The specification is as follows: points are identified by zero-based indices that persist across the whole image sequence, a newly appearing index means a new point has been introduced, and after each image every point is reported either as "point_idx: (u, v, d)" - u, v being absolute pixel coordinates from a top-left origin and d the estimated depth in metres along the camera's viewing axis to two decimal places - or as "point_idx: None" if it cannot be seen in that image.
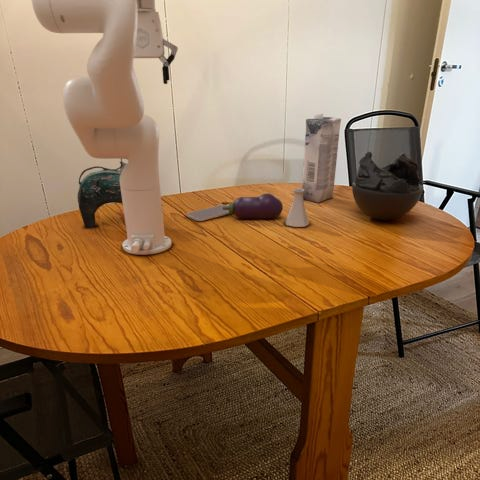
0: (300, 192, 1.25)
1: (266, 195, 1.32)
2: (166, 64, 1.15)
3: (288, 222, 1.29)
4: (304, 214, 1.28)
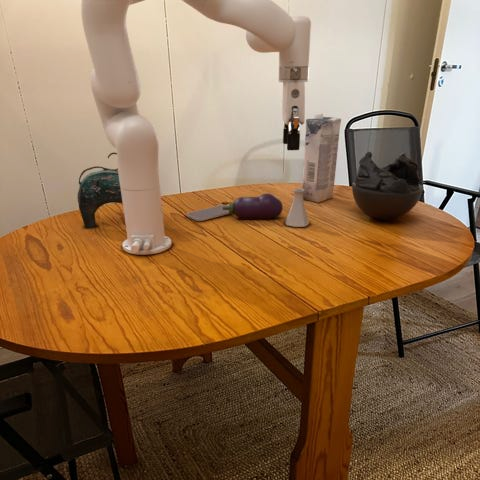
0: (300, 192, 1.25)
1: (266, 195, 1.32)
2: None
3: (288, 222, 1.29)
4: (304, 214, 1.28)
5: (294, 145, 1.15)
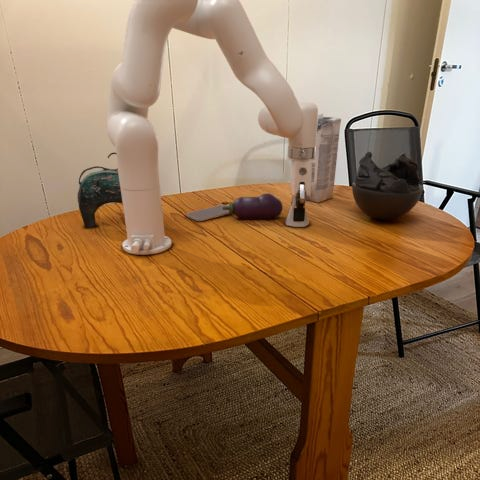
0: None
1: (266, 195, 1.32)
2: None
3: (288, 222, 1.29)
4: None
5: (299, 217, 1.27)
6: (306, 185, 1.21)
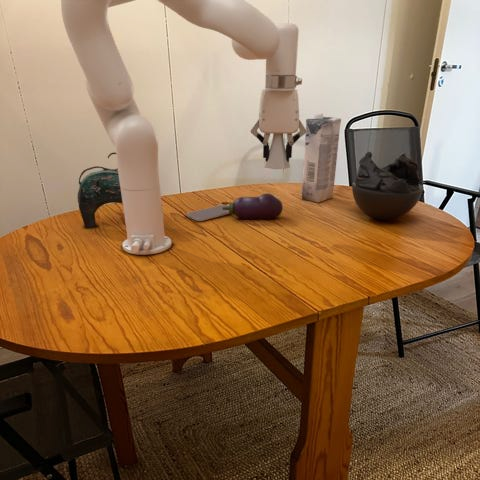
0: None
1: (266, 195, 1.32)
2: None
3: (285, 165, 1.16)
4: None
5: None
6: None
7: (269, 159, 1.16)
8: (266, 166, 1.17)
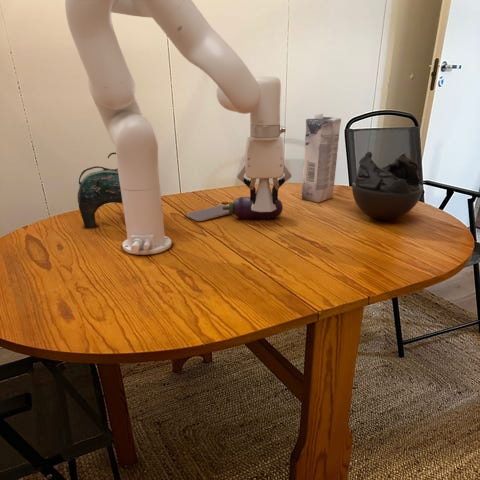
0: None
1: None
2: None
3: (271, 208, 1.20)
4: None
5: None
6: None
7: (256, 202, 1.20)
8: (253, 209, 1.21)
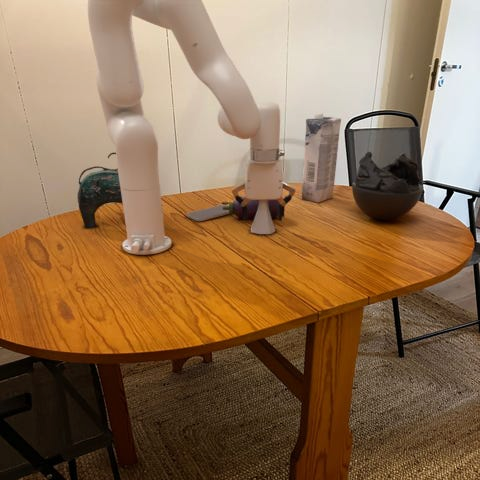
0: None
1: None
2: None
3: (270, 230, 1.23)
4: None
5: (283, 214, 1.24)
6: None
7: (255, 225, 1.23)
8: (252, 231, 1.24)
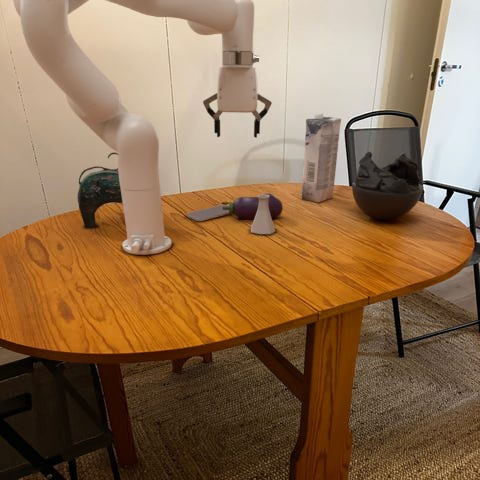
0: (268, 196, 1.21)
1: None
2: None
3: (270, 230, 1.23)
4: None
5: (259, 131, 1.15)
6: None
7: (255, 225, 1.23)
8: (252, 231, 1.24)
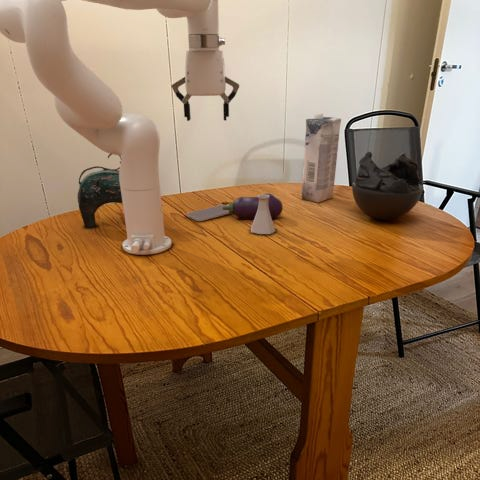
0: (268, 196, 1.21)
1: None
2: None
3: (270, 230, 1.23)
4: None
5: None
6: None
7: (255, 225, 1.23)
8: (252, 231, 1.24)
